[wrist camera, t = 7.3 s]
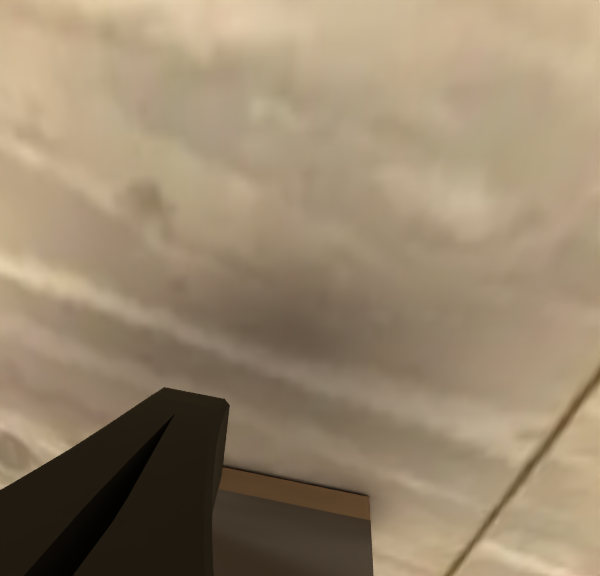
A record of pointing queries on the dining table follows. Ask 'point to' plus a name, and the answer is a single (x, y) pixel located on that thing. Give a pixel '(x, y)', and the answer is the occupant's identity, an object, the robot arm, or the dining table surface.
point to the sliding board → (288, 529)
